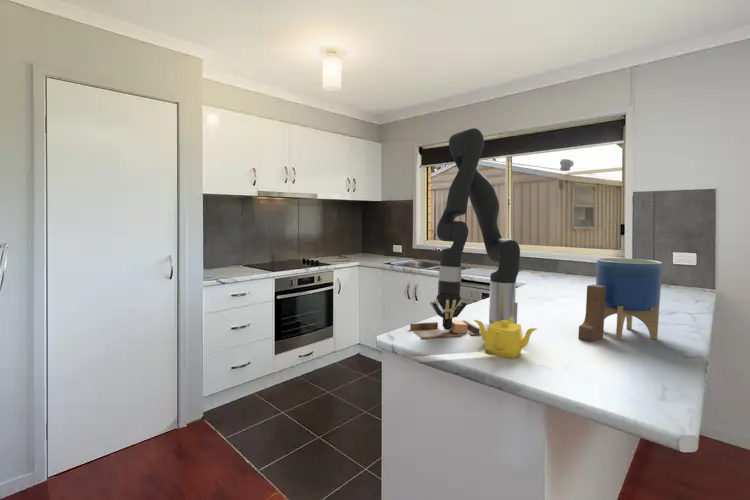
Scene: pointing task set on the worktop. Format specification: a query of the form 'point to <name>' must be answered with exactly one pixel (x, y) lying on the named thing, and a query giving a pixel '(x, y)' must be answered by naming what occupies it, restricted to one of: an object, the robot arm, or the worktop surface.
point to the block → (459, 327)
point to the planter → (631, 291)
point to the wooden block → (593, 314)
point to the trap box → (433, 332)
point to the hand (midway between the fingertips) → (446, 329)
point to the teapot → (504, 338)
